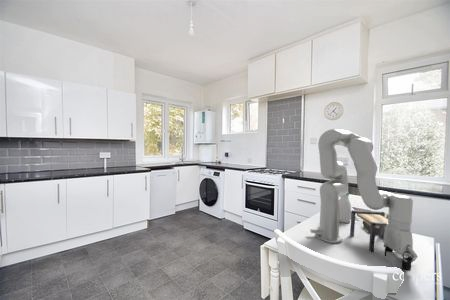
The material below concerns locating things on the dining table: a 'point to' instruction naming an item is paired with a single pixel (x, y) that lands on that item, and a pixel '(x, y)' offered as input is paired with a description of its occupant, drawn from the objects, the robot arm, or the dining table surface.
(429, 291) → the dining table surface
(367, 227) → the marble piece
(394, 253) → the granite block
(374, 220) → the trapdoor
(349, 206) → the milk bottle
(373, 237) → the frame
